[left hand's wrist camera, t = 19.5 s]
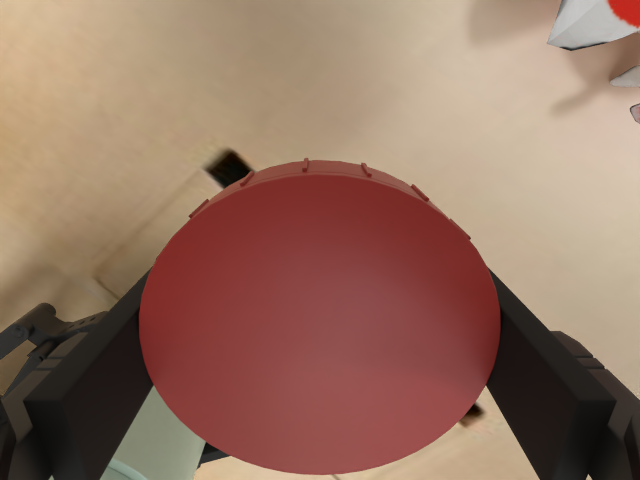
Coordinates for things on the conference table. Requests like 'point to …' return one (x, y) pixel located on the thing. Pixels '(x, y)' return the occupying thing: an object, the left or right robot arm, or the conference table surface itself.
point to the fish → (598, 31)
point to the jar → (155, 446)
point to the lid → (319, 320)
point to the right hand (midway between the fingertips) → (202, 380)
